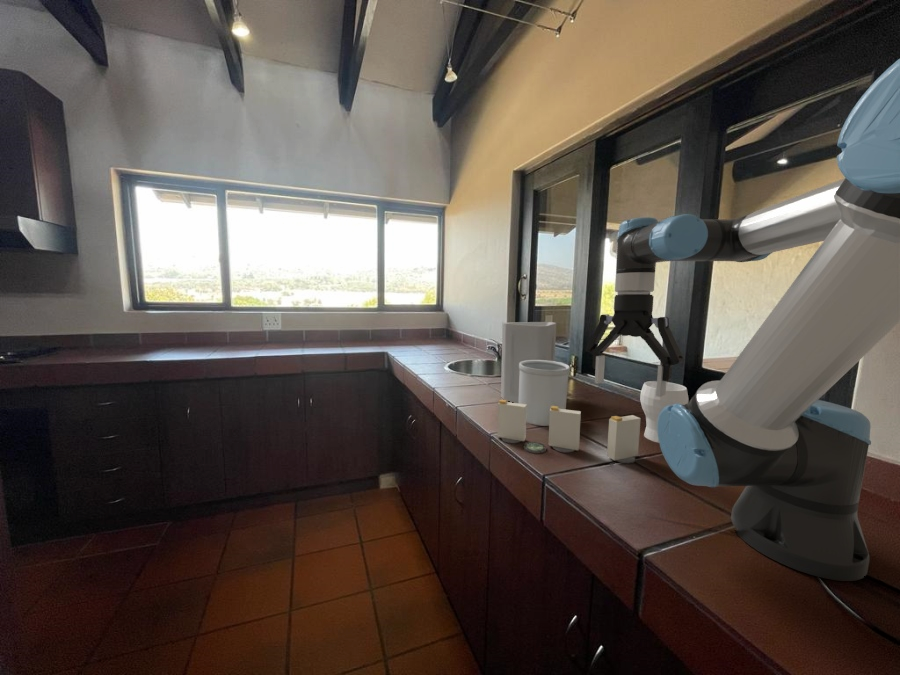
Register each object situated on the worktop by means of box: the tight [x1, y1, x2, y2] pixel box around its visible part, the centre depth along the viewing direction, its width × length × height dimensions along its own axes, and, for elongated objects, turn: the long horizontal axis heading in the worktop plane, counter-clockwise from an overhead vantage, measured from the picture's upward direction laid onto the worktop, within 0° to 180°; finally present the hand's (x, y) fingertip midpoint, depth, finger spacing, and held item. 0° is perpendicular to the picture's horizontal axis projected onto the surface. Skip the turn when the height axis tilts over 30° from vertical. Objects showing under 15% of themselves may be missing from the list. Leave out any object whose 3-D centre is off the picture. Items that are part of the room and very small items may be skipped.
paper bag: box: [500, 321, 557, 403], centre depth 122 cm, size 19×15×28 cm
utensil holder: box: [519, 360, 571, 427], centre depth 105 cm, size 15×15×18 cm
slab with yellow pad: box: [606, 414, 641, 464], centre depth 79 cm, size 5×7×10 cm
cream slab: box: [496, 398, 527, 444], centre depth 89 cm, size 5×7×10 cm
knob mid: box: [548, 406, 582, 454], centre depth 84 cm, size 5×7×10 cm
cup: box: [639, 380, 690, 444], centre depth 90 cm, size 11×11×15 cm
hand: (627, 388), depth 77 cm, fingers open, 13 cm apart
